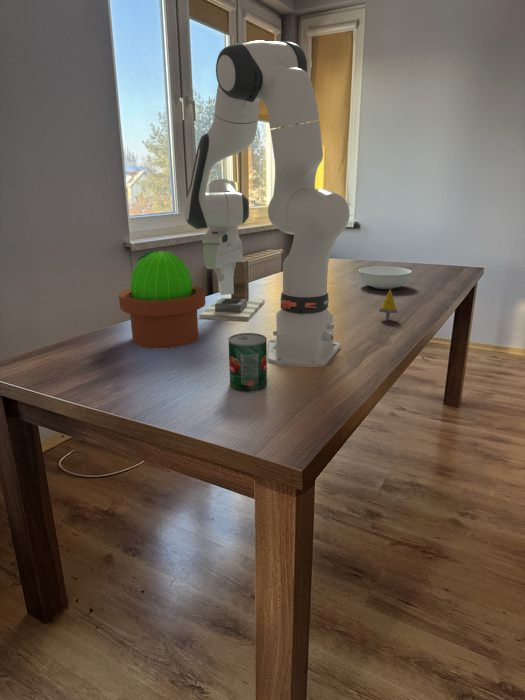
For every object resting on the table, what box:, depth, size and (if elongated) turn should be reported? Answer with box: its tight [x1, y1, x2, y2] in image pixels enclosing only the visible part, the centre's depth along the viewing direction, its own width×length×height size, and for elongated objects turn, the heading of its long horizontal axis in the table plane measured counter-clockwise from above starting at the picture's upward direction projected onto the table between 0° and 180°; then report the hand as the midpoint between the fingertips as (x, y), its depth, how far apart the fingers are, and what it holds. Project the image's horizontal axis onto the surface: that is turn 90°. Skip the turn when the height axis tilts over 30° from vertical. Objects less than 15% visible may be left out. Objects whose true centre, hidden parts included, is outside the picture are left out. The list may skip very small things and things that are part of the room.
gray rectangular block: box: [217, 262, 234, 296], centre depth 155 cm, size 4×4×10 cm
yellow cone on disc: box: [378, 289, 398, 322], centre depth 148 cm, size 5×5×10 cm
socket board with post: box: [198, 259, 266, 322], centre depth 160 cm, size 24×16×16 cm, turn 168°
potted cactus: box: [118, 250, 206, 349], centre depth 129 cm, size 22×22×25 cm
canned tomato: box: [227, 332, 268, 393], centre depth 100 cm, size 8×8×11 cm
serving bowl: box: [358, 266, 413, 290], centre depth 195 cm, size 21×21×7 cm
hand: (225, 278), depth 155 cm, fingers closed on gray rectangular block, 6 cm apart
